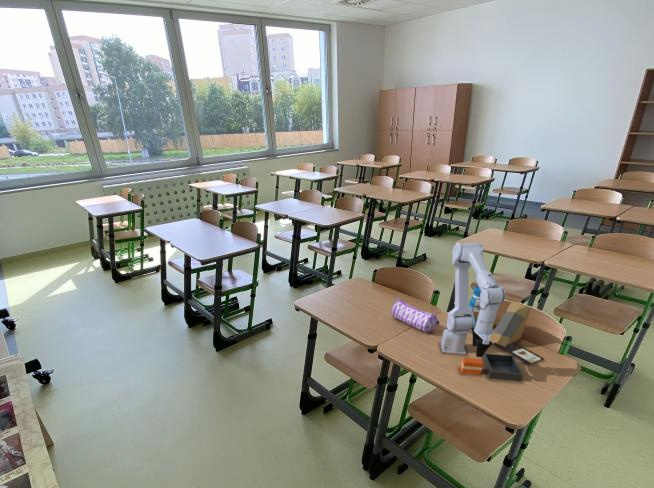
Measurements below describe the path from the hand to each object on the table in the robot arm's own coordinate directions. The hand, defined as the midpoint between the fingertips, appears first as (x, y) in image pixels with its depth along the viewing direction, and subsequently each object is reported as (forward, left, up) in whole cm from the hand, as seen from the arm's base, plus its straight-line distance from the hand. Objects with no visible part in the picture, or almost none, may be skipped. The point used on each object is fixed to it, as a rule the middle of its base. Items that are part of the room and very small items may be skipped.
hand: (477, 351), depth 150 cm
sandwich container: (+19, +28, -9) cm, 35 cm away
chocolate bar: (+22, +18, -9) cm, 29 cm away
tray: (+11, +2, -9) cm, 14 cm away
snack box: (-1, -1, -9) cm, 9 cm away
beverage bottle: (+7, +37, -9) cm, 39 cm away
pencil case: (-21, +35, -9) cm, 42 cm away
